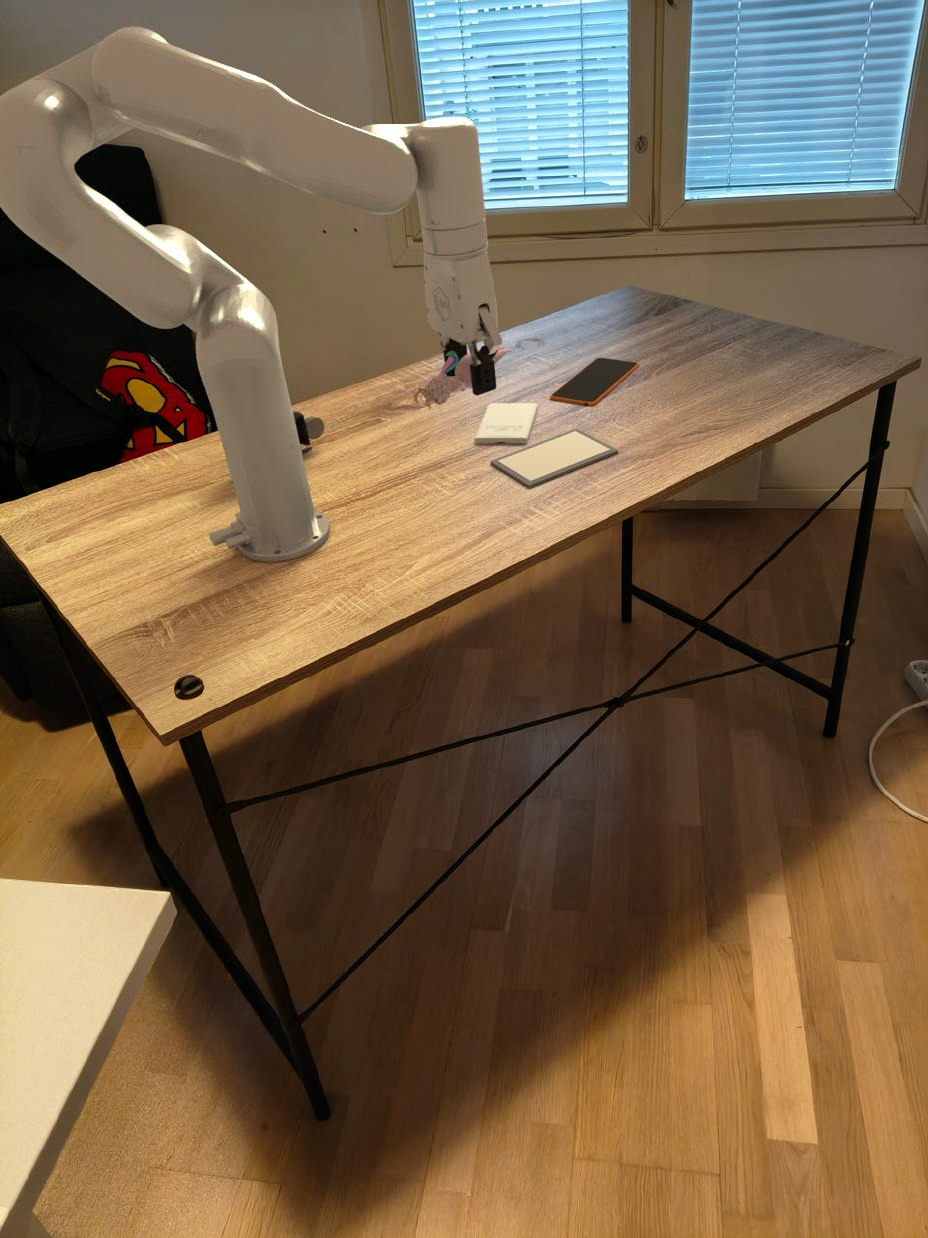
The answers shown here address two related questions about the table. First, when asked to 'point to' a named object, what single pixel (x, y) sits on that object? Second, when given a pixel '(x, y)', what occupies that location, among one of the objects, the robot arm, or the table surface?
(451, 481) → the table surface
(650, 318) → the table surface
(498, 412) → the external hard drive
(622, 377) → the smartphone
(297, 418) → the figurine character
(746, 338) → the table surface
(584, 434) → the mat
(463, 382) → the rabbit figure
